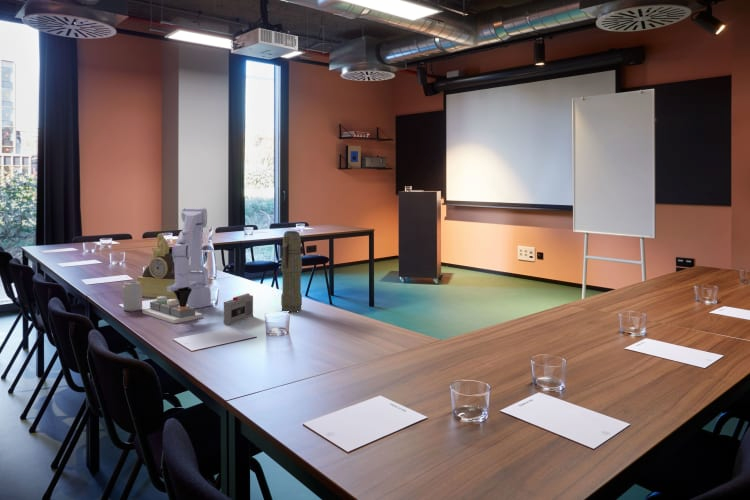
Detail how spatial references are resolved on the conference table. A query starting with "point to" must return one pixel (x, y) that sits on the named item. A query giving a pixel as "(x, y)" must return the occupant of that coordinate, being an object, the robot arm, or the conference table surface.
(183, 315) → the panel
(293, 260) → the thermos
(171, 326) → the conference table surface
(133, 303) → the can
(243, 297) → the cassette player
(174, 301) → the cream button
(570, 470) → the conference table surface
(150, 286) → the decorative clock
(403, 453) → the conference table surface
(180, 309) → the terracotta button
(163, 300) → the sage button
